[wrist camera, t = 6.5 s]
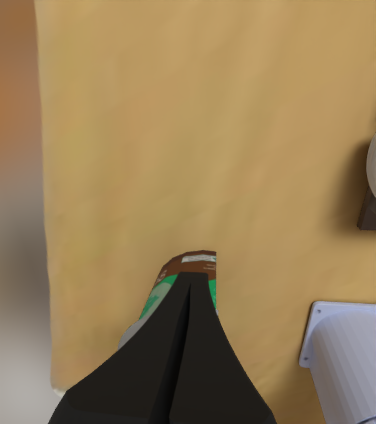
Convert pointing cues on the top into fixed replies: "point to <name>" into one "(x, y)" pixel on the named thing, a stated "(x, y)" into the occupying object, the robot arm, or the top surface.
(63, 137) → the top surface
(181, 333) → the robot arm
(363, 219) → the bottle rest
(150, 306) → the food container
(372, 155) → the supplement bottle
